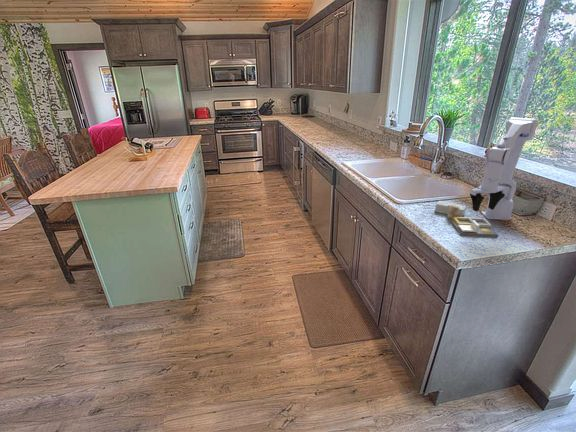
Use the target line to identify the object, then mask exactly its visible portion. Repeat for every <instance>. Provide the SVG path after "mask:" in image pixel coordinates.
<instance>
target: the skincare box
mask: <svg viewBox="0 0 576 432" xmlns="http://www.w3.org/2000/svg"><path fill="white" fill-rule="evenodd" d="M450 205H456V206H459V212H458V216H457V217H464V215H465V213H466V209H467V206H466V205H463V204H459V203H458V204H457V203H454V202H453V203H452V202H449V201H448V202H447V201H443V200H439V201H437V203H436V205H435V210H434V212H436V213H440V214H444V215H447V216H448V211H449V207H450Z"/></svg>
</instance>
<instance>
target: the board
mask: <svg viewBox="0 0 576 432" xmlns="http://www.w3.org/2000/svg"><path fill="white" fill-rule="evenodd" d="M472 220H475V221H476V222H477V223H478V224H479V225H480V226H479V230H478V232H465V231H462V230H461V229H460V228H459V227H458V225H471V223H472ZM449 223H450V224H451V225H452V227H453V228H454V229H455V230H456V232H457V233H459V235H460V236H464V237H465V236H467V237H468V236H470V237H489V238H498V236H499V234H498V233H497V232H496V231H495V230H494V229H493V228H492V224H491V223H490V222H489V221H488V220H487V219H486V217H484V218H483V217H464V216H463V217H453V219H450V220H449Z"/></svg>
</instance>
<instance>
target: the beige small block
mask: <svg viewBox="0 0 576 432" xmlns="http://www.w3.org/2000/svg"><path fill="white" fill-rule="evenodd" d="M458 212H459V206H456V205H450V207H449V211H448V215H447V217H446V219H448V220H449V221H450V219H453V217H457V216H458Z"/></svg>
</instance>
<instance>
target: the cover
mask: <svg viewBox="0 0 576 432" xmlns="http://www.w3.org/2000/svg"><path fill="white" fill-rule="evenodd" d="M479 226H480V225H479V224H478V223H477V222H476V221H475V220H472V223H471V225H458V227H459V228H460V229H461V230H462V231H465V232H478V230H479Z"/></svg>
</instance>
